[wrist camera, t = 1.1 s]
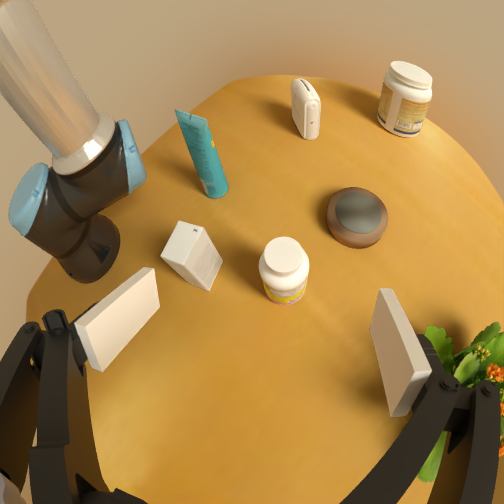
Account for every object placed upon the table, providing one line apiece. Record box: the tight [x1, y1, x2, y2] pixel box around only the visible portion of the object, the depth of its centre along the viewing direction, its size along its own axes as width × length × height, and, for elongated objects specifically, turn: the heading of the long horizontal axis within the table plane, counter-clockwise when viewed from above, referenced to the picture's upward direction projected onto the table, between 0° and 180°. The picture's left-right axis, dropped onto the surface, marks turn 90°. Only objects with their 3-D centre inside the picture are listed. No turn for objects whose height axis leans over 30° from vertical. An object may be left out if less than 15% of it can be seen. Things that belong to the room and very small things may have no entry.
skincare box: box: [160, 221, 223, 291], centre depth 41 cm, size 6×4×12 cm
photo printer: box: [291, 78, 321, 140], centre depth 54 cm, size 10×4×12 cm, turn 12°
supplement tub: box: [377, 61, 432, 137], centre depth 50 cm, size 12×12×17 cm
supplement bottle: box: [259, 237, 309, 305], centre depth 38 cm, size 7×7×13 cm
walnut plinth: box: [326, 187, 388, 249], centre depth 46 cm, size 11×11×3 cm
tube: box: [175, 109, 228, 199], centre depth 46 cm, size 7×5×19 cm, turn 58°
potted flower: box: [417, 322, 504, 483], centre depth 24 cm, size 25×24×18 cm
